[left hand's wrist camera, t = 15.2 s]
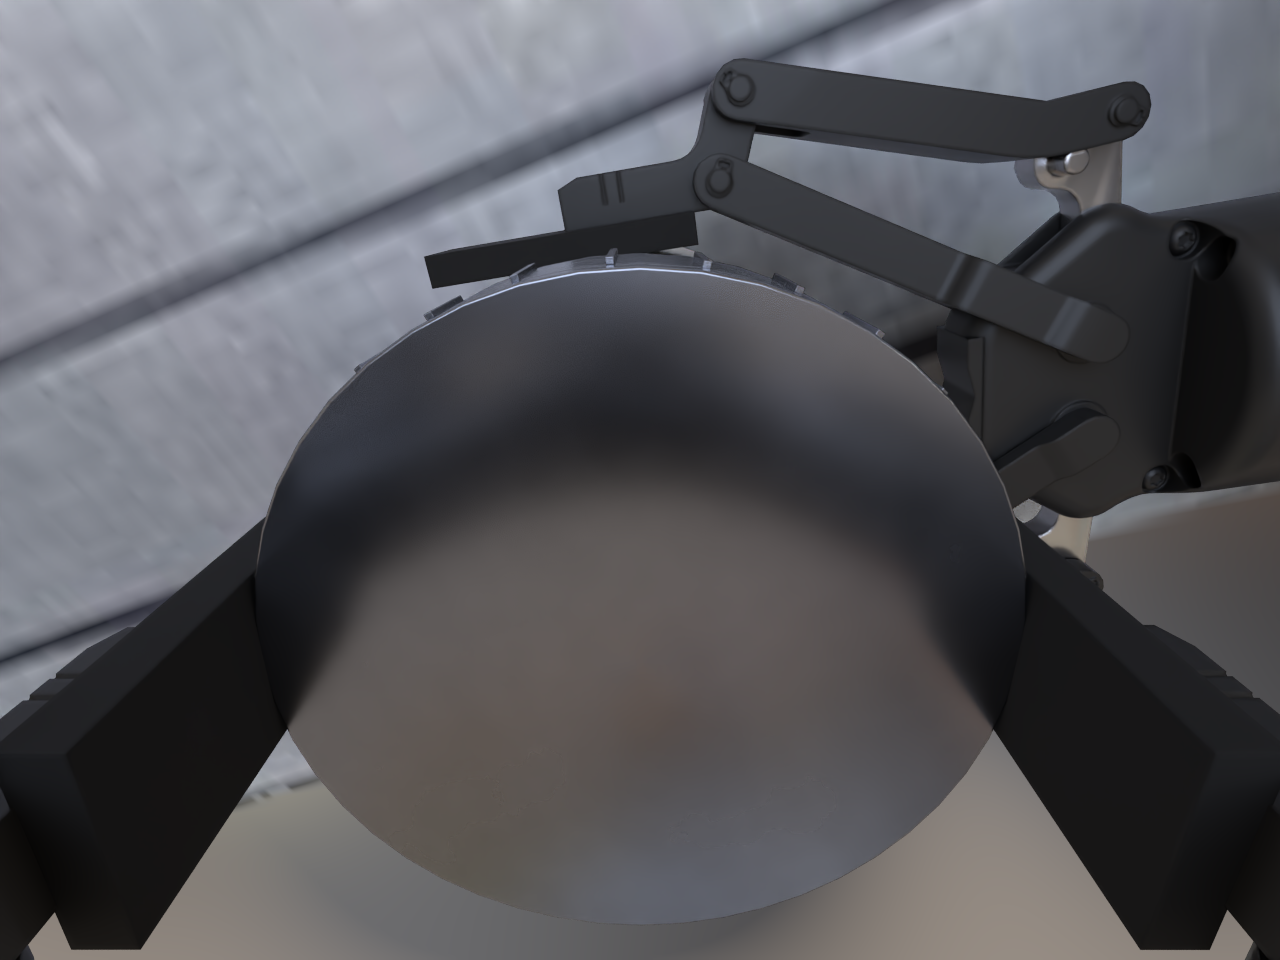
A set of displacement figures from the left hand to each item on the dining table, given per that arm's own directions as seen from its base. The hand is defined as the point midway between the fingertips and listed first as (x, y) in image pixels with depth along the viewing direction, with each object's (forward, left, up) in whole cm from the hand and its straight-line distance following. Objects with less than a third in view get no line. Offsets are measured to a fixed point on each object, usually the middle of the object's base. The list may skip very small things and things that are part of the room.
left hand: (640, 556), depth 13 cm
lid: (0, 0, +3) cm, 3 cm away
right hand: (-4, -2, -7) cm, 8 cm away
